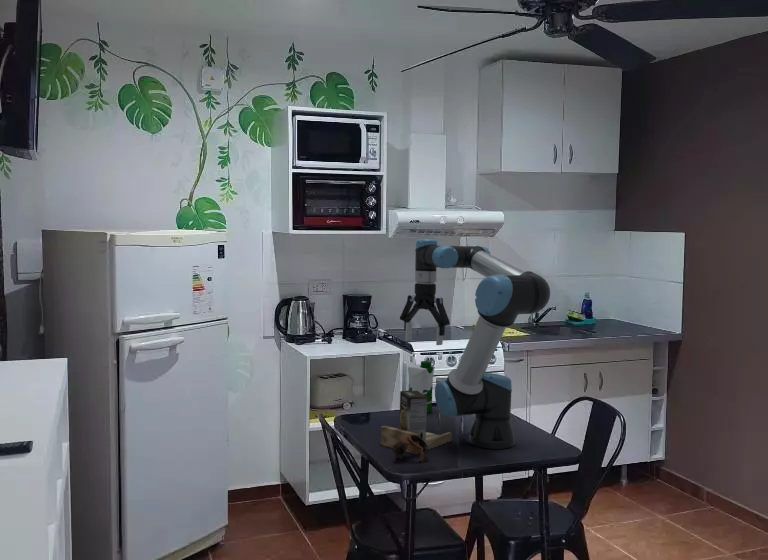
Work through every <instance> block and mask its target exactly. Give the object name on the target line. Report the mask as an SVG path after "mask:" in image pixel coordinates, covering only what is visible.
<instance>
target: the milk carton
mask: <svg viewBox="0 0 768 560" xmlns="http://www.w3.org/2000/svg"><path fill="white" fill-rule="evenodd" d="M435 369H436V367H435V366H432V362H431V361H429V360H421V361H420V364H419V363H416V364H414V365H409V366H407V371H408V391H419V392H420V393H422V394H424V395H425V396H427V414H429V412H430V413H432V412H433V382H434V373H435Z"/></svg>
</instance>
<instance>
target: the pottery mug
mask: <svg viewBox="0 0 768 560" xmlns="http://www.w3.org/2000/svg"><path fill="white" fill-rule="evenodd" d="M415 442H419V445H417V444H416V443H415ZM408 445H410V446H409V447H410V448H412V449H413V450H415V451H416V452H418V454H419V457H418V459H417V461H418V462H420V461H421V462H423V460H424V459H425V458H426V456H427V455H428V450H427V449H428V445H427V444H426V442H425V441H424V440H423V439H421V438H420V437H418V436H416V435H413V434H409V435H408V437H406V438H403V439H402V440H401V441H400V442H397V443H396V444H395V445H394V446H393V448H392V452H393V454H394V456H393V457H394V459H395V460H396V459H400V460H402V459H403V456H404V454H405V452H406V450H407V447H408ZM422 448H423V451H421V450H422Z"/></svg>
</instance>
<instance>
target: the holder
mask: <svg viewBox="0 0 768 560" xmlns="http://www.w3.org/2000/svg"><path fill="white" fill-rule="evenodd" d="M409 434H413V435H416V436H418V437H420V434H417V433H413V432H409V431H405V430H401V429H399V428H397V427H392V426H390V425H389V426H388V425H382V426H380V443H379V444H380V446H384V447H388V448H391V449H393V446H394V445H395V444H396V443H397V442H400V441H401V440H402V439H403V438H406V437H408V435H409ZM452 436H453V433H452V432H450V431H447V432H445V433H442V434H437V433H433V432H429V431H428V432H427V431H426V440H425V442H426V444H427V445H428V449H429V450H431V448H432V449H434V447H435V448H438V447H440V446H442V445H445V444H448V443H450V441H451V442H452V441H453V439H452V438H453V437H452ZM447 442H448V443H447ZM415 443H416V444H417V445H419V442H415ZM409 446H410V445H408V447H407V450H406V451H405V452H406V453H408V454H409V453H410V454H413V455H418V454H419V453H418V452H416V451H415V450H413V449H412V448H410V447H409ZM428 449H427V450H426V451H429V450H428ZM421 451H423V448H422V450H421Z"/></svg>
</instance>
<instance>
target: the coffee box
mask: <svg viewBox="0 0 768 560" xmlns="http://www.w3.org/2000/svg"><path fill="white" fill-rule="evenodd" d="M427 414H428V413H427V396H425V395H424V394H422V393H420V392H419V391H409V390H400V391H399V427H398V429H401V430H405V431H409V432H413V433H417V434H420V438H421V439H423V440H424V441H425V440H426V432H427V416H428V415H427Z"/></svg>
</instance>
